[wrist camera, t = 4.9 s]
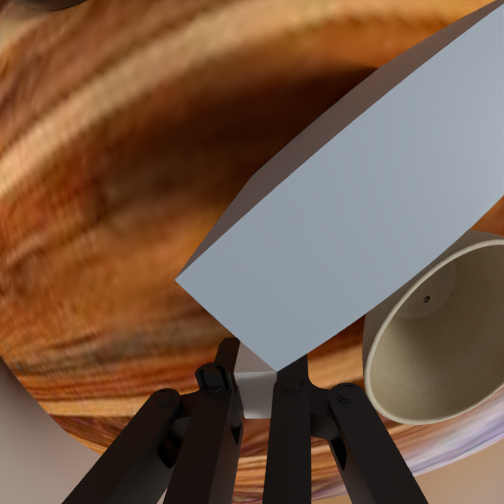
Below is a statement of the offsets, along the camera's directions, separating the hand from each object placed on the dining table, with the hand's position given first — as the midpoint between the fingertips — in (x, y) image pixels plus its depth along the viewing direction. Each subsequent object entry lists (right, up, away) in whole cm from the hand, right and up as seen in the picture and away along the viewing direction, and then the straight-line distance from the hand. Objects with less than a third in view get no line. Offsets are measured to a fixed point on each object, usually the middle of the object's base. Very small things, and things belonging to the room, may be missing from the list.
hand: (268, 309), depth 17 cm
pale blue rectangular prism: (+3, +9, -2) cm, 10 cm away
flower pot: (+9, +2, 0) cm, 9 cm away
